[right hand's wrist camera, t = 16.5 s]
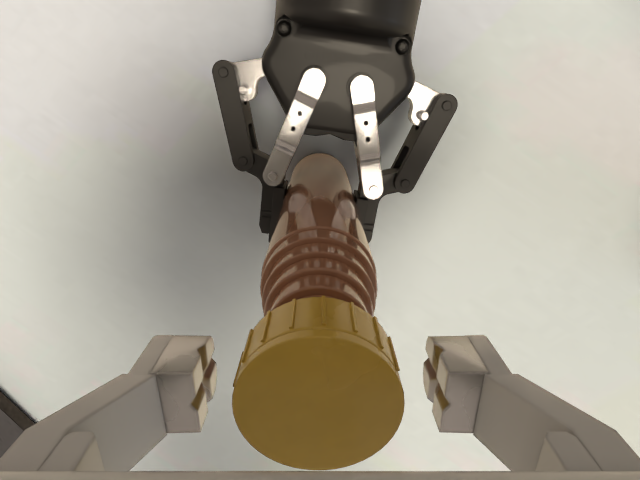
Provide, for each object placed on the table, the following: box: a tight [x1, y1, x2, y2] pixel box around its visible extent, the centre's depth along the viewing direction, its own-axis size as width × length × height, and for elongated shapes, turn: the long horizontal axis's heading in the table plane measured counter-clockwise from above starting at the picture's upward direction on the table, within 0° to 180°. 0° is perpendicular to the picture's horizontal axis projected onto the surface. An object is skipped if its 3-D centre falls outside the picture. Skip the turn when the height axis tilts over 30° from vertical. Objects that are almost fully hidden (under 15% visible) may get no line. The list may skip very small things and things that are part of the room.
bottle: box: [260, 153, 377, 317], centre depth 20 cm, size 4×4×23 cm
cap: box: [232, 296, 404, 470], centre depth 10 cm, size 4×4×2 cm
